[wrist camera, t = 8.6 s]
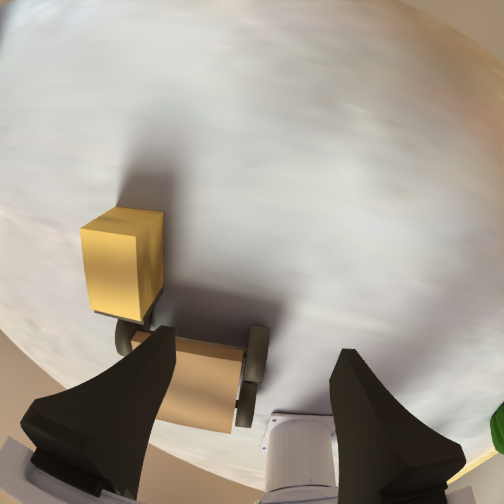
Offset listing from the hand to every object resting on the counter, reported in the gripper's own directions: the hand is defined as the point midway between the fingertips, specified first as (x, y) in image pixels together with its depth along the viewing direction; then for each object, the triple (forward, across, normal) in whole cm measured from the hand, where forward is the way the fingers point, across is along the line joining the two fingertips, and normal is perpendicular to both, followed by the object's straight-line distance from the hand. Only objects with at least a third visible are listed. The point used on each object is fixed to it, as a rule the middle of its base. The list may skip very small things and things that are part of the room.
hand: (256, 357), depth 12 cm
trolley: (+10, +5, +11) cm, 15 cm away
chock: (+10, +10, 0) cm, 14 cm away
